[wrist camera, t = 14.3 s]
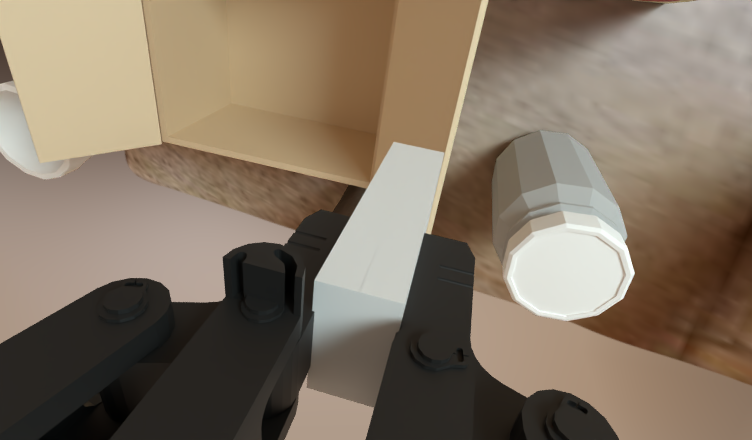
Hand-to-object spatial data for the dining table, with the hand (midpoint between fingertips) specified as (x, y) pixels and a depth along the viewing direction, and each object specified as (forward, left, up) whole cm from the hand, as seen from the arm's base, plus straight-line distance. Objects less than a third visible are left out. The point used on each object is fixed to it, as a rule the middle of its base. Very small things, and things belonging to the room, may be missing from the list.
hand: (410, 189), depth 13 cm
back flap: (+26, +2, -16) cm, 31 cm away
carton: (+14, +2, -32) cm, 35 cm away
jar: (-11, +11, -32) cm, 36 cm away
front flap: (+2, +2, -16) cm, 16 cm away
